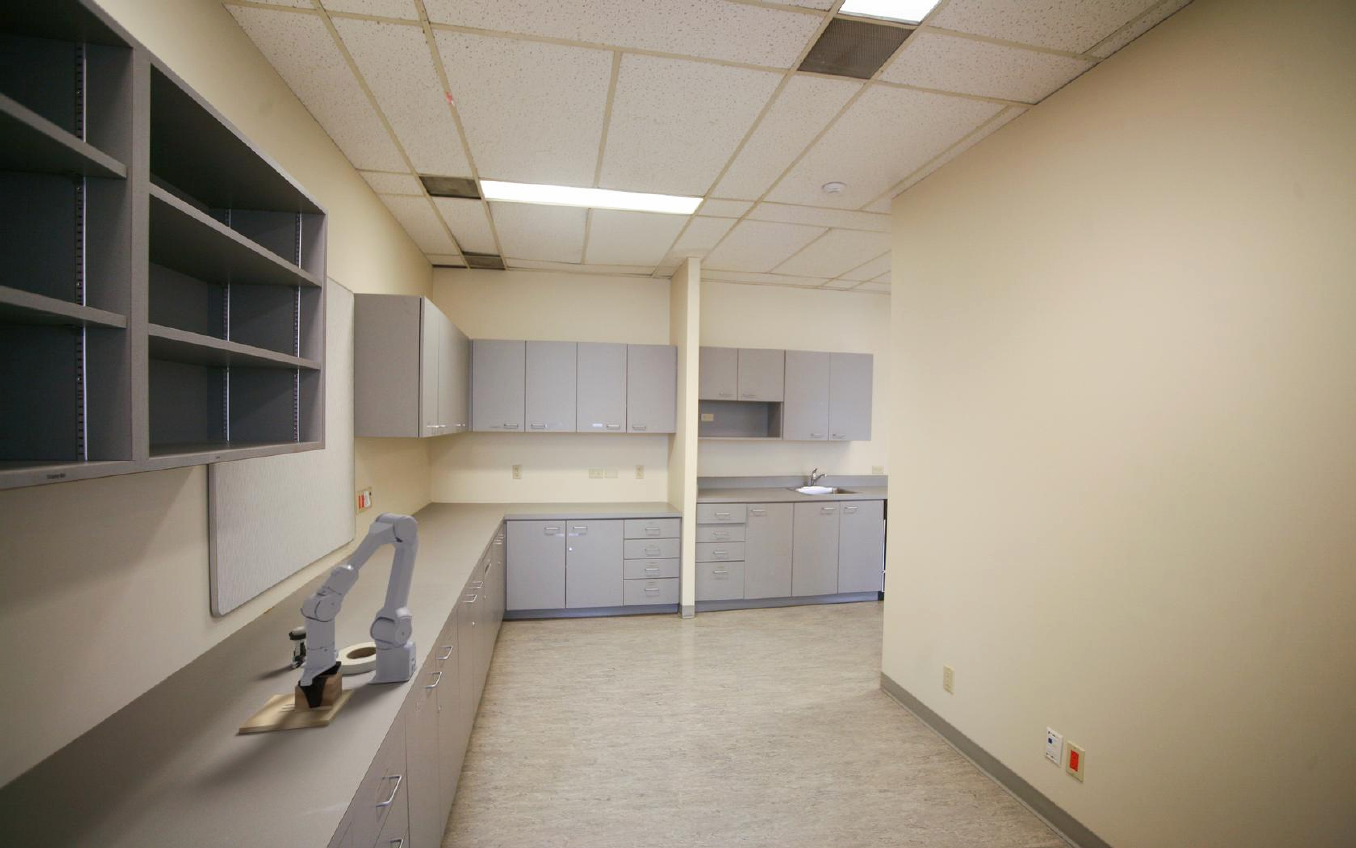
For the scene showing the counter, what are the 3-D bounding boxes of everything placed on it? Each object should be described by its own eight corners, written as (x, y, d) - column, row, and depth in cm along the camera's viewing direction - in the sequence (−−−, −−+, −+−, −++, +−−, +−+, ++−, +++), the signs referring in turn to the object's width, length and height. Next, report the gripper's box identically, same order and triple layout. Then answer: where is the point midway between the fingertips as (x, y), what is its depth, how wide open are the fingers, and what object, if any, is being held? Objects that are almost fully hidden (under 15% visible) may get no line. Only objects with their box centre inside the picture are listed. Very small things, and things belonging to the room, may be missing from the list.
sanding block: (342, 698, 128) (342, 673, 128) (332, 709, 123) (332, 684, 123) (305, 701, 127) (305, 676, 127) (294, 712, 122) (294, 687, 122)
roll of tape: (318, 668, 147) (318, 657, 147) (370, 646, 161) (370, 637, 161) (354, 680, 140) (354, 669, 140) (405, 656, 154) (405, 647, 154)
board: (354, 693, 133) (354, 688, 133) (328, 725, 119) (328, 719, 119) (274, 700, 129) (274, 695, 129) (239, 733, 116) (239, 728, 116)
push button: (303, 668, 146) (303, 633, 146) (282, 670, 144) (282, 634, 144) (315, 658, 152) (315, 624, 152) (294, 659, 151) (294, 625, 151)
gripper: (316, 633, 131) (316, 687, 131) (285, 659, 117) (285, 719, 117) (347, 631, 133) (347, 684, 133) (320, 657, 118) (320, 716, 119)
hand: (320, 700), depth 125 cm, fingers closed on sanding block, 5 cm apart
